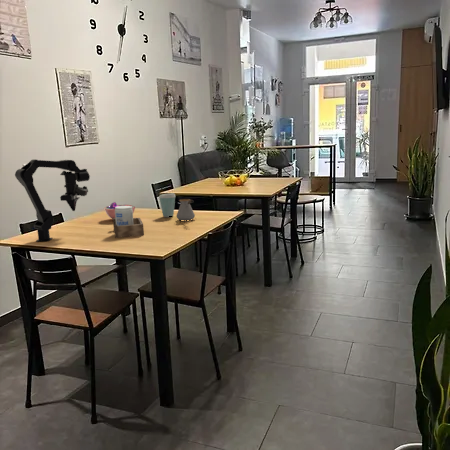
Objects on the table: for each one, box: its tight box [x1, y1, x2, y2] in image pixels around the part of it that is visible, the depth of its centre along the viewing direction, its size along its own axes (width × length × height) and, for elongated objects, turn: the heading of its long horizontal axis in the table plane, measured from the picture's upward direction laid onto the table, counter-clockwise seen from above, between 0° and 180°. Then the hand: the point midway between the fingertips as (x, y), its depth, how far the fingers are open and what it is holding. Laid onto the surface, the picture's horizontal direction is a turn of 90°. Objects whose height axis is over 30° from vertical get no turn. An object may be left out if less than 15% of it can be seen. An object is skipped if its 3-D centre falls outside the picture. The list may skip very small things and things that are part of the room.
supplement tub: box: [115, 205, 134, 226], centre depth 248 cm, size 10×10×15 cm
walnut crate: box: [112, 217, 145, 239], centre depth 250 cm, size 15×21×7 cm
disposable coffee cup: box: [158, 192, 176, 218], centre depth 292 cm, size 11×11×15 cm
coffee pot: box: [176, 198, 196, 221], centre depth 273 cm, size 21×12×15 cm, turn 21°
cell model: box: [103, 201, 136, 220], centre depth 287 cm, size 17×20×11 cm
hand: (73, 210), depth 249 cm, fingers closed
